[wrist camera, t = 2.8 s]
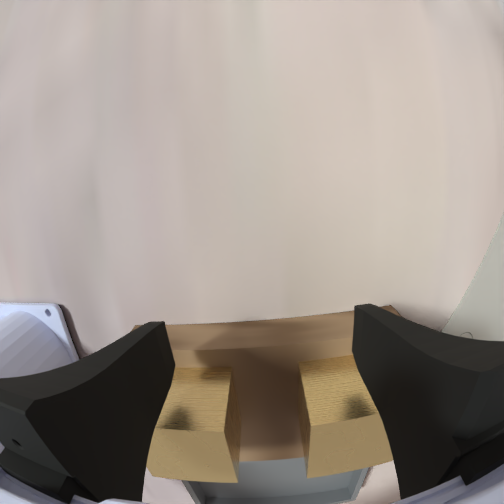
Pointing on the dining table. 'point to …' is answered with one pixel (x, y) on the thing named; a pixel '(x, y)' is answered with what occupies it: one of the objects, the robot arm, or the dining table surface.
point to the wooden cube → (198, 428)
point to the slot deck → (265, 370)
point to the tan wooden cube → (338, 419)
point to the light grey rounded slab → (483, 298)
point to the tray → (278, 485)
